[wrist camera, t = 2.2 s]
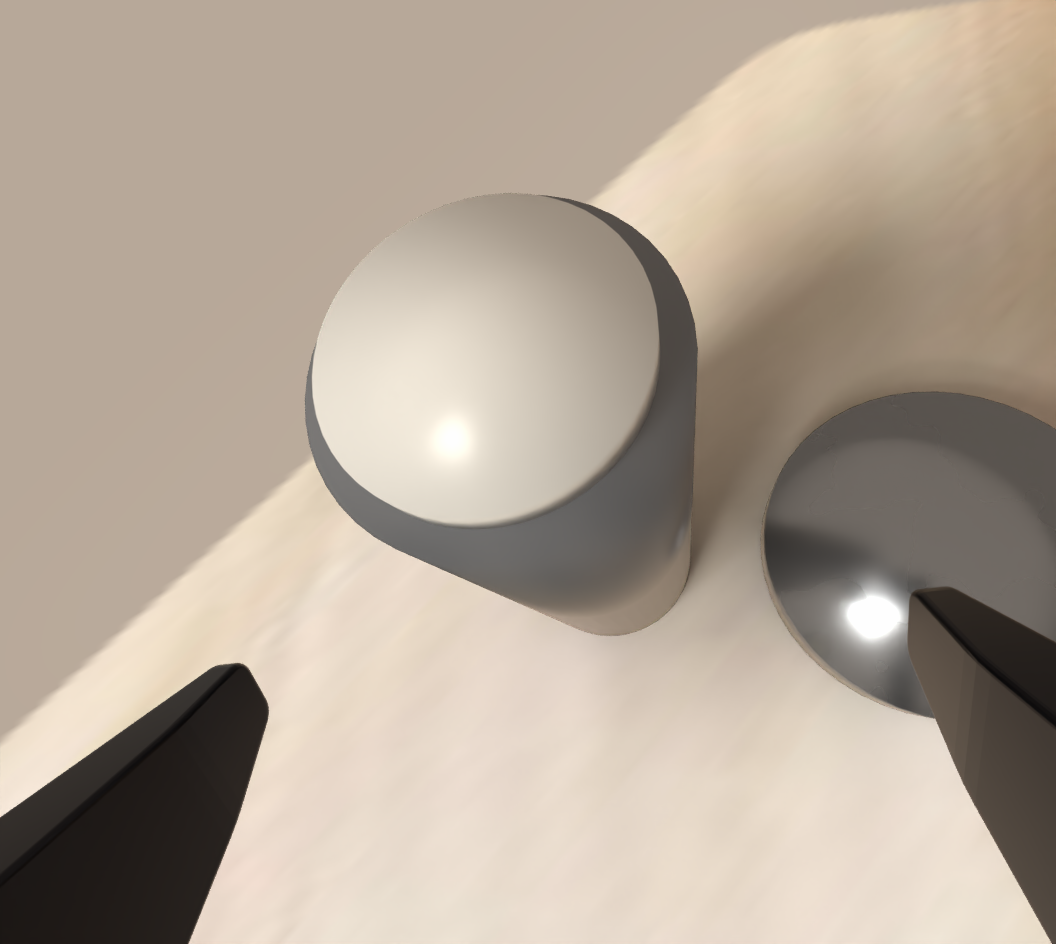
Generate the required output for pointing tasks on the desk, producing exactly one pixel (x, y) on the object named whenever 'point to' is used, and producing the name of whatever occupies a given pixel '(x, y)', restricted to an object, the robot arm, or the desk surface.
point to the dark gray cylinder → (517, 406)
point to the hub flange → (909, 530)
